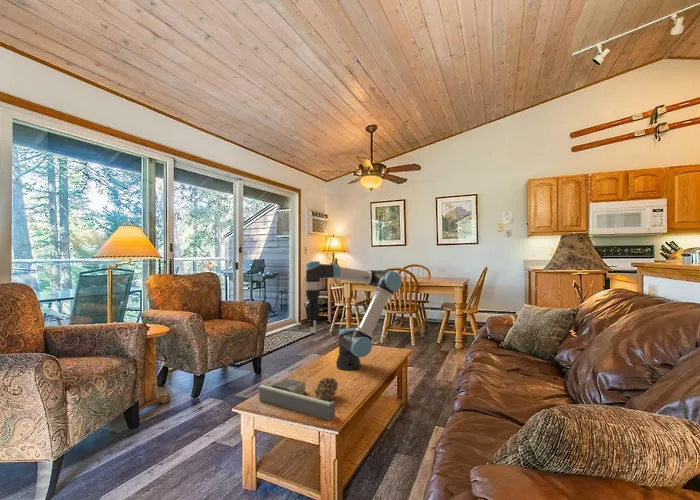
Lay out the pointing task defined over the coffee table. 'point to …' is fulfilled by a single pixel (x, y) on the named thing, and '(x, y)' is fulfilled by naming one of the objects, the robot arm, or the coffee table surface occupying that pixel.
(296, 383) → the geological specimen
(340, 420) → the coffee table surface
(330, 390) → the pine cone
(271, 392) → the end rail
